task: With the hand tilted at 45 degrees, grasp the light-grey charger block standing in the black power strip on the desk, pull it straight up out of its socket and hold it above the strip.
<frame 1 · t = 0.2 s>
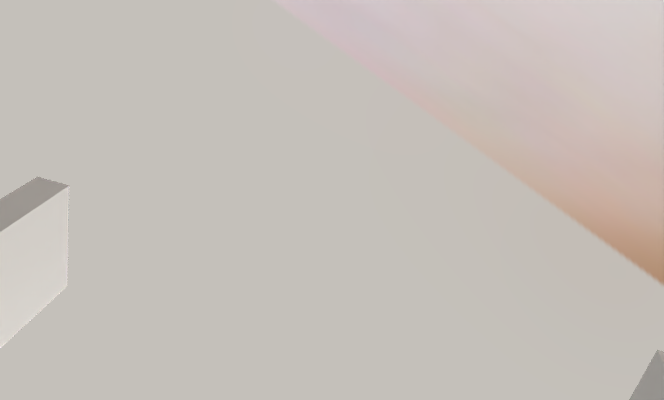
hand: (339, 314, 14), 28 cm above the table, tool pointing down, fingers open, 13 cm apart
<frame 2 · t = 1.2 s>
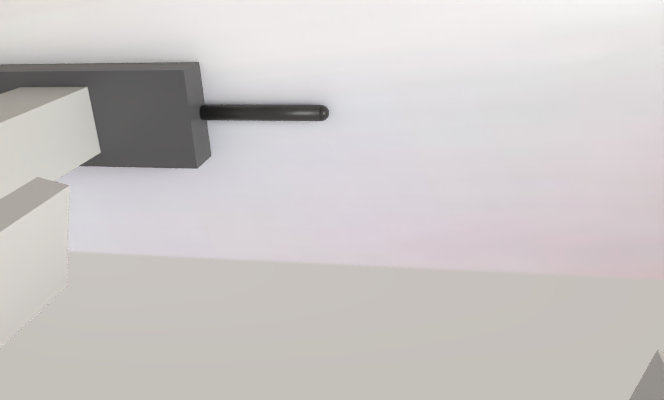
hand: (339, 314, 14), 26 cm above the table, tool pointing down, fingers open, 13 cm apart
charger: (21, 138, 37), point 7 cm above the table, slide at 0.0 cm
power strip: (44, 110, 43), on the table
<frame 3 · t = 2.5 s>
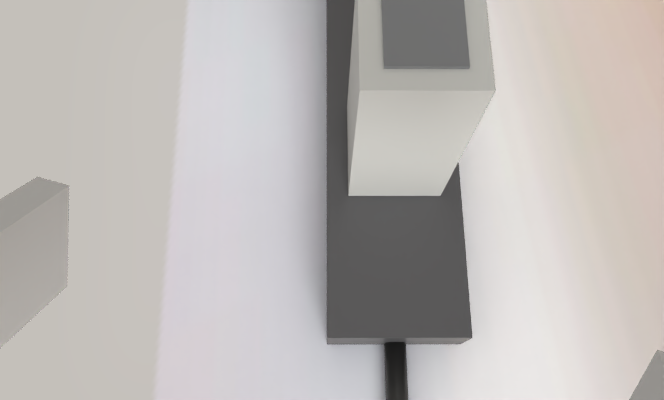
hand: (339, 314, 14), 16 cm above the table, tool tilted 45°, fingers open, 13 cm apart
charger: (402, 110, 26), point 7 cm above the table, slide at 0.0 cm
power strip: (385, 119, 33), on the table
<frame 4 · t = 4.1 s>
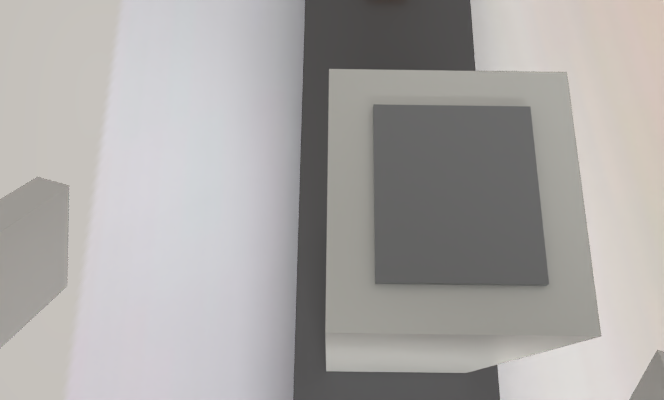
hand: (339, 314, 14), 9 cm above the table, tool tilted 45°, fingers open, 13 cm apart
charger: (410, 268, 16), point 7 cm above the table, slide at 0.0 cm
power strip: (385, 230, 23), on the table
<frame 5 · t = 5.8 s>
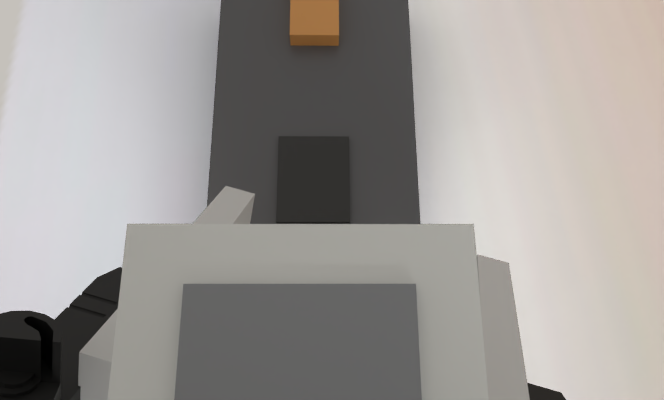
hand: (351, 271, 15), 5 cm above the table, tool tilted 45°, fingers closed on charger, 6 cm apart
power strip: (313, 323, 20), on the table
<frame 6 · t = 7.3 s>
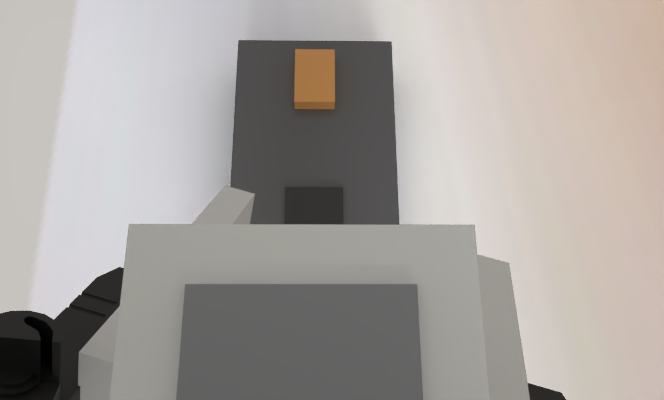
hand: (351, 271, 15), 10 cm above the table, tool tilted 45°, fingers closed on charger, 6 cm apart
power strip: (313, 339, 24), on the table
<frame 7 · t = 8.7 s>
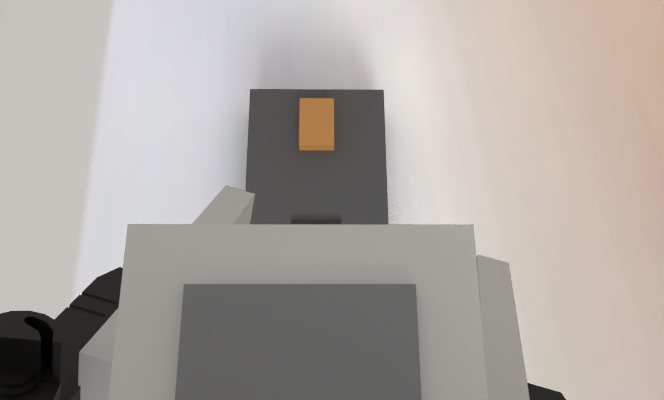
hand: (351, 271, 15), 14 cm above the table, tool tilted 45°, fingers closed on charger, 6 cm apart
power strip: (316, 350, 28), on the table
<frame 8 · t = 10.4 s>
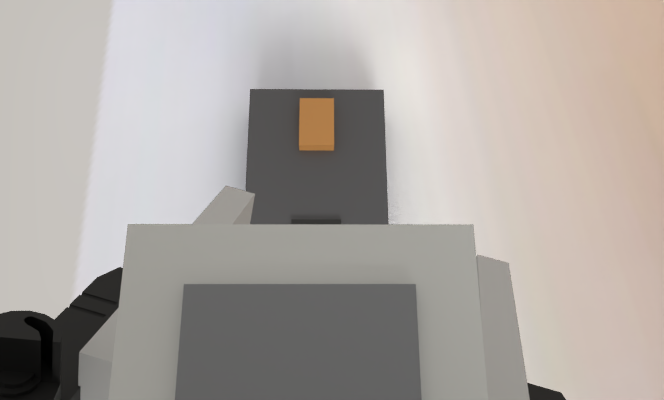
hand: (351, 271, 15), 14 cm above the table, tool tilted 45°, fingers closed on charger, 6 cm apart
power strip: (316, 350, 28), on the table
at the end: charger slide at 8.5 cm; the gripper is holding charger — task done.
